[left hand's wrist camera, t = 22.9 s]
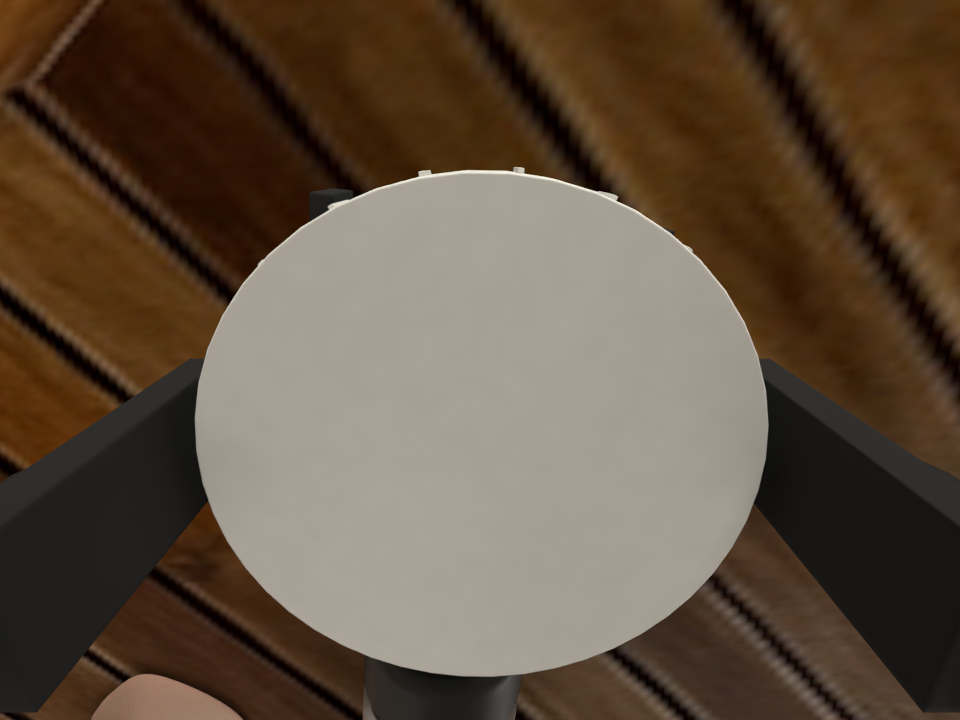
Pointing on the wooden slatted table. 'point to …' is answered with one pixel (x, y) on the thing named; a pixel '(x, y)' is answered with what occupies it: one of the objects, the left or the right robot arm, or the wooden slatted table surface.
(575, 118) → the wooden slatted table surface
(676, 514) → the lid
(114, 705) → the anatomical model
